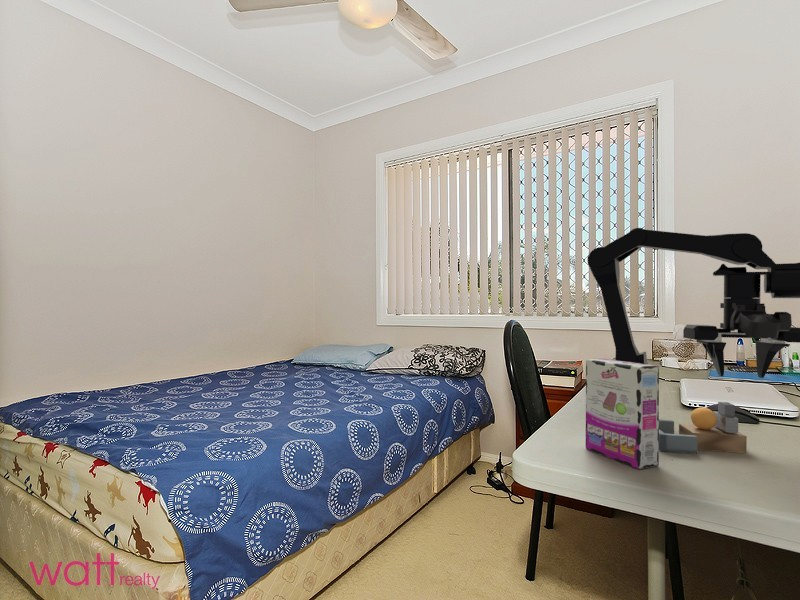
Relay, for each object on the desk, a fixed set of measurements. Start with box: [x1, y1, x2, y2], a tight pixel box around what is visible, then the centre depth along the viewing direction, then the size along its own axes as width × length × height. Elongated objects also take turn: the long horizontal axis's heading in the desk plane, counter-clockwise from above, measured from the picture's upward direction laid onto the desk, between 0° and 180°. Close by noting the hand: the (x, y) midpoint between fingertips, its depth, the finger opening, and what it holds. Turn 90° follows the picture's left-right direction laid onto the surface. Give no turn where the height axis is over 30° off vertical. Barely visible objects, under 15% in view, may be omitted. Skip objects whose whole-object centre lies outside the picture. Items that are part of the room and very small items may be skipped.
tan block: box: [678, 423, 748, 454], centre depth 80 cm, size 8×6×3 cm
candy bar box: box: [585, 358, 660, 470], centre depth 74 cm, size 11×5×16 cm, turn 23°
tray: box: [659, 418, 698, 455], centre depth 82 cm, size 6×11×3 cm, turn 168°
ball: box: [690, 407, 717, 430], centre depth 81 cm, size 4×4×4 cm
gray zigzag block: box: [713, 401, 739, 433], centre depth 80 cm, size 2×5×5 cm, turn 168°
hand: (740, 376), depth 86 cm, fingers open, 7 cm apart
